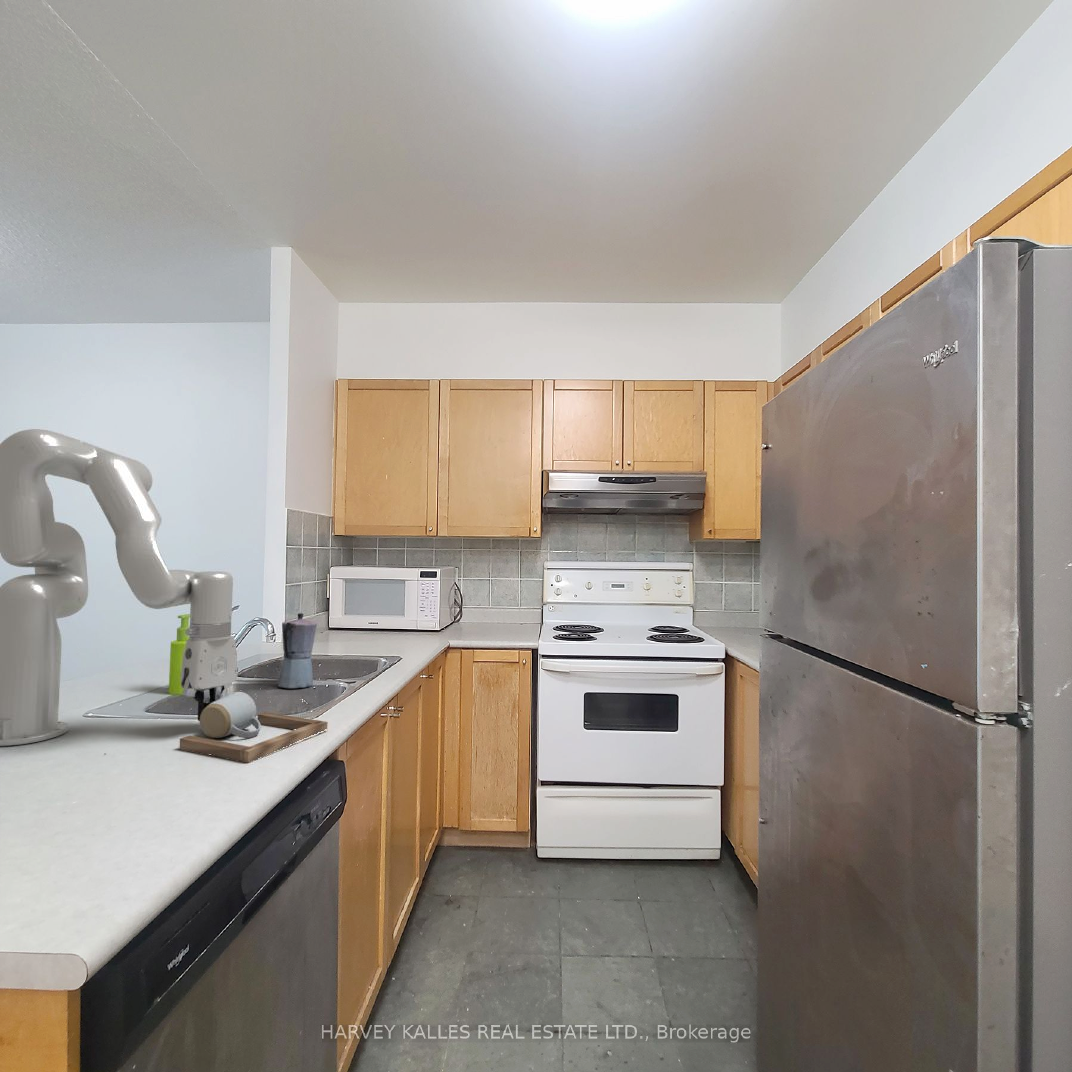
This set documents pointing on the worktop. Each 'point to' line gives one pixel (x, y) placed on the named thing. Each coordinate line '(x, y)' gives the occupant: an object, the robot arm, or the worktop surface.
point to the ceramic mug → (230, 717)
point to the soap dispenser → (178, 656)
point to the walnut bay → (261, 749)
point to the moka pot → (297, 653)
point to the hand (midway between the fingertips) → (206, 720)
